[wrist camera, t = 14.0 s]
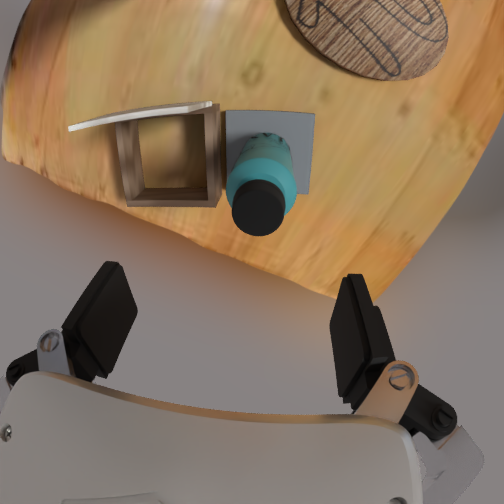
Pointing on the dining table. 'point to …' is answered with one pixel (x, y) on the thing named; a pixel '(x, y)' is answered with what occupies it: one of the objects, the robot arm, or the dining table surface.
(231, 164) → the slate mat
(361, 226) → the dining table surface
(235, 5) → the dining table surface
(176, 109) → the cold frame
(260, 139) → the beverage bottle
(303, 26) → the trivet
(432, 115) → the dining table surface
